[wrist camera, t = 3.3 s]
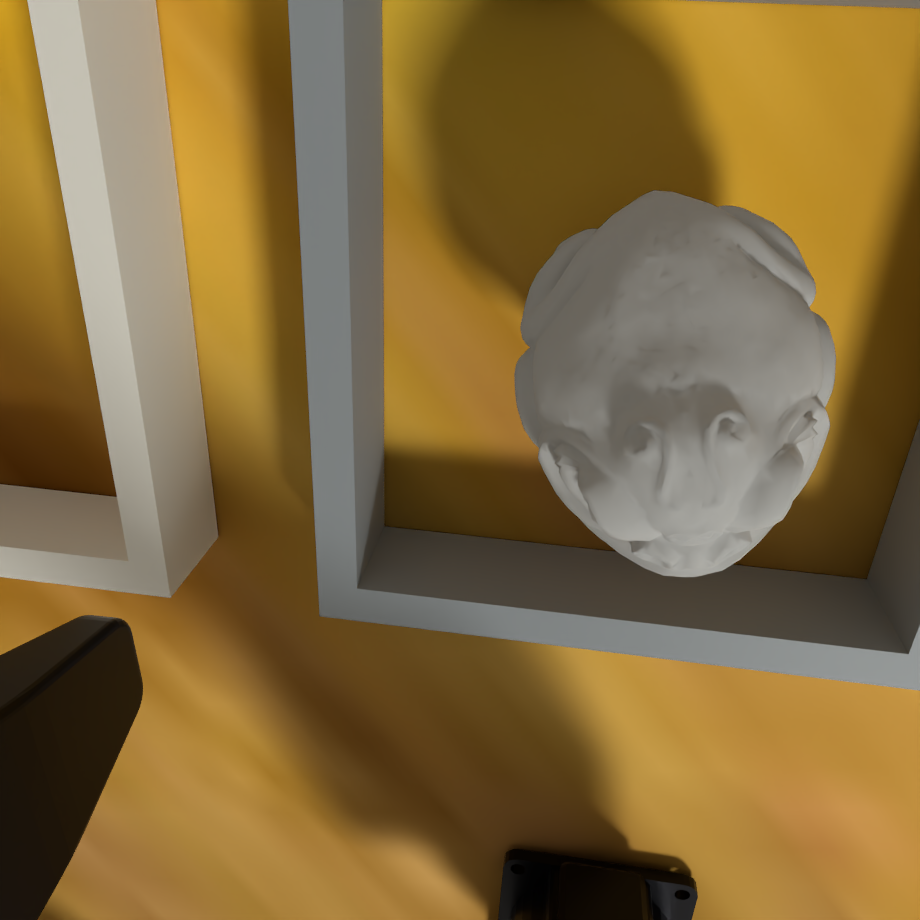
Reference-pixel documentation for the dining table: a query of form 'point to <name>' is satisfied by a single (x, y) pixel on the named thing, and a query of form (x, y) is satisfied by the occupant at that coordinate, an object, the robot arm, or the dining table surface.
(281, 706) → the dining table surface
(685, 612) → the grey square frame
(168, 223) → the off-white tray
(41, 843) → the robot arm
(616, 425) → the grey rounded lumpy piece
